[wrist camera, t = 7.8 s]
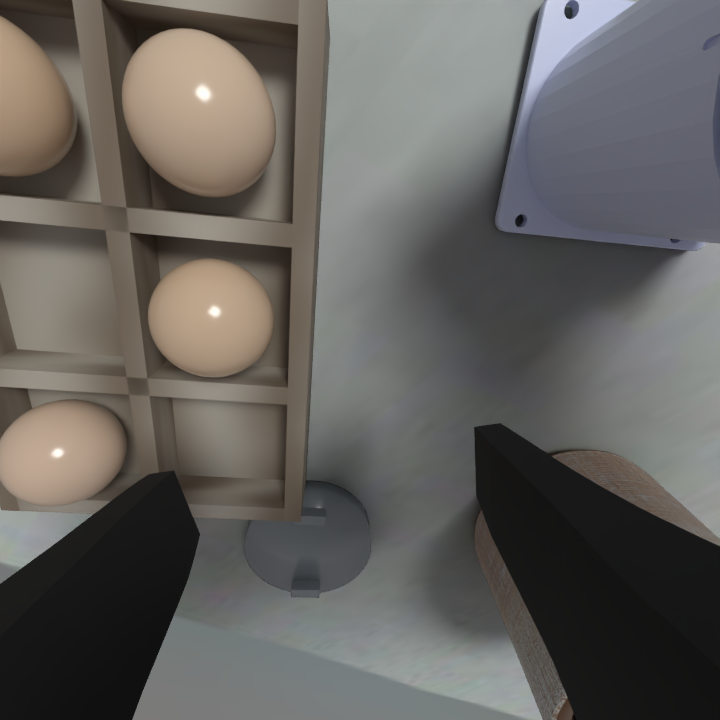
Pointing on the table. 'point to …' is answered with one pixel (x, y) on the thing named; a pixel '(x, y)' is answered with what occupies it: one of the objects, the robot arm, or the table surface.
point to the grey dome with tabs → (312, 543)
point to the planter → (516, 617)
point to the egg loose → (211, 317)
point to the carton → (167, 259)
